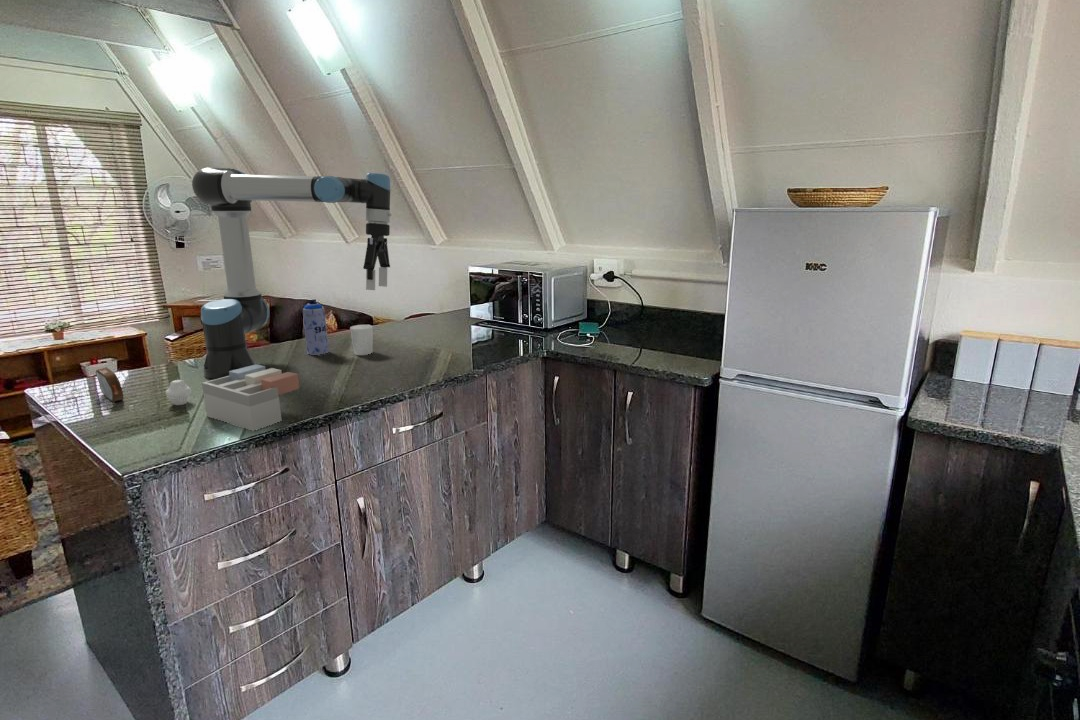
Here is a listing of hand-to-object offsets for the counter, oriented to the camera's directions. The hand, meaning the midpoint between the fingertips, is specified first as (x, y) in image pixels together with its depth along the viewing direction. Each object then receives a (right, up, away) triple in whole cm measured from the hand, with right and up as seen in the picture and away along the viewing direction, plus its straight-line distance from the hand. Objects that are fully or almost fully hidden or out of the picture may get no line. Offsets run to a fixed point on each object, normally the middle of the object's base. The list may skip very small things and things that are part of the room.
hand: (377, 288), depth 196 cm
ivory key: (-19, -31, -39) cm, 54 cm away
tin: (-69, -35, -27) cm, 82 cm away
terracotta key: (-13, -32, -43) cm, 55 cm away
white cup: (-11, -22, +22) cm, 33 cm away
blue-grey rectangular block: (-25, -30, -36) cm, 53 cm away
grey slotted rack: (-23, -39, -43) cm, 63 cm away
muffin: (-46, -36, -31) cm, 67 cm away
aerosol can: (-28, -22, +22) cm, 42 cm away
